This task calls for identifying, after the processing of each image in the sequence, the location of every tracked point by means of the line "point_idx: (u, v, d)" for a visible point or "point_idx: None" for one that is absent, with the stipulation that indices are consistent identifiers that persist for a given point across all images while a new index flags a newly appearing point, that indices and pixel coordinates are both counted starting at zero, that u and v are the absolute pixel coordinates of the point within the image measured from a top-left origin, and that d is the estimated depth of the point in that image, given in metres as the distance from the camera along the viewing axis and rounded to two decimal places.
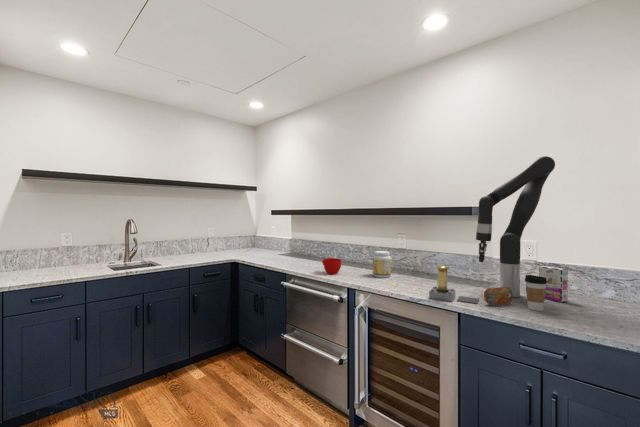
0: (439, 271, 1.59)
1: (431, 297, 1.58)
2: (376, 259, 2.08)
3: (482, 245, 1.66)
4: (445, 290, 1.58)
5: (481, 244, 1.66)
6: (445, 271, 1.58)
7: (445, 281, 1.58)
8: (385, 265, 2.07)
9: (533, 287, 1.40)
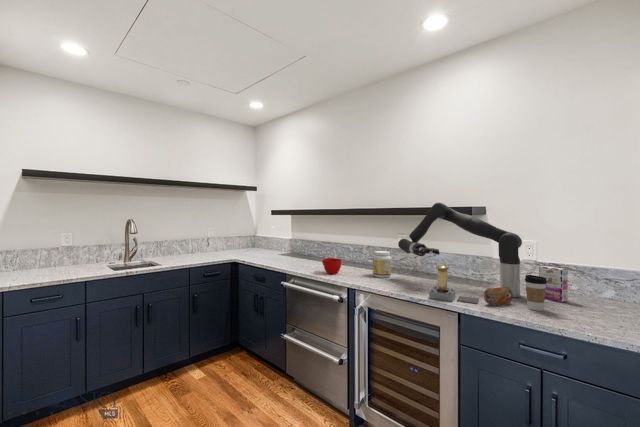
0: (439, 271, 1.59)
1: (431, 297, 1.58)
2: (376, 259, 2.08)
3: (412, 250, 1.79)
4: (445, 290, 1.58)
5: (412, 251, 1.80)
6: (445, 271, 1.58)
7: (445, 281, 1.58)
8: (385, 265, 2.07)
9: (533, 287, 1.40)
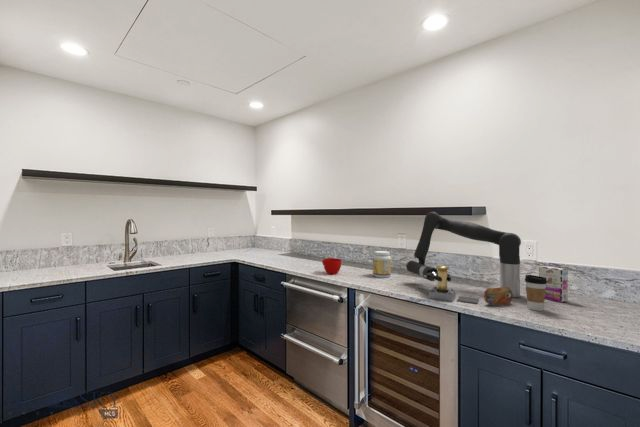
0: (439, 271, 1.59)
1: (431, 297, 1.58)
2: (376, 259, 2.08)
3: (424, 275, 1.65)
4: (445, 290, 1.58)
5: (424, 276, 1.66)
6: (445, 271, 1.58)
7: (445, 281, 1.58)
8: (385, 265, 2.07)
9: (533, 287, 1.40)
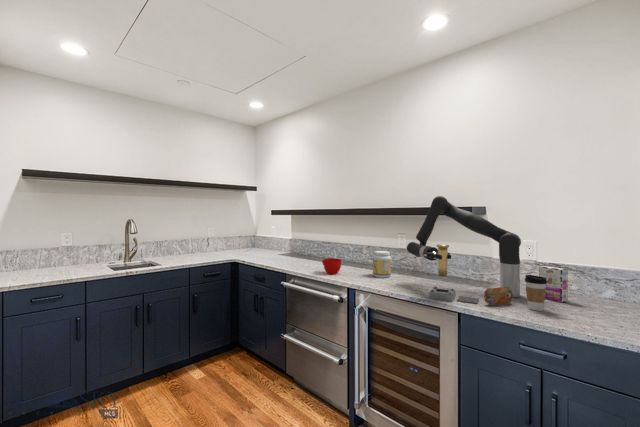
0: (439, 249, 1.59)
1: (431, 297, 1.58)
2: (376, 259, 2.08)
3: (425, 254, 1.65)
4: (445, 268, 1.58)
5: (424, 255, 1.66)
6: (445, 249, 1.58)
7: (445, 259, 1.58)
8: (385, 265, 2.07)
9: (533, 287, 1.40)
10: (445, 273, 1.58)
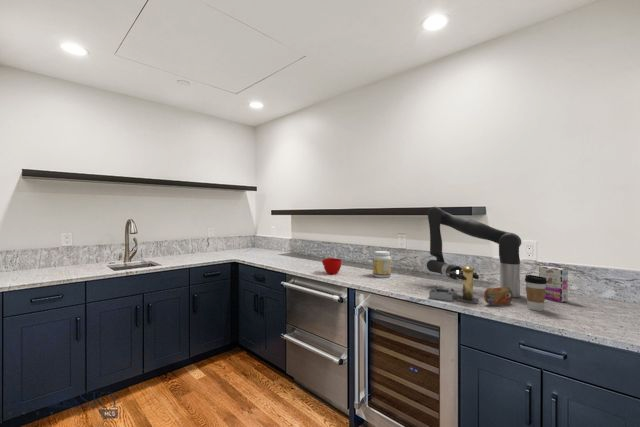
0: (464, 272, 1.54)
1: (431, 297, 1.58)
2: (376, 259, 2.08)
3: (447, 273, 1.61)
4: (471, 292, 1.53)
5: (447, 274, 1.61)
6: (471, 272, 1.53)
7: (471, 282, 1.53)
8: (385, 265, 2.07)
9: (533, 287, 1.40)
10: (471, 297, 1.53)
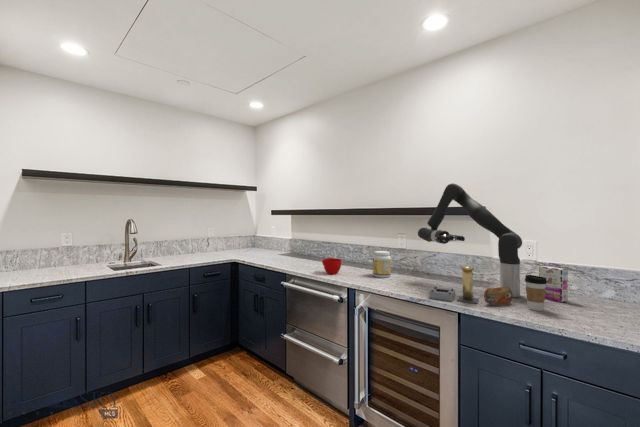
0: (464, 272, 1.54)
1: (431, 297, 1.58)
2: (376, 259, 2.08)
3: (435, 237, 1.73)
4: (471, 291, 1.53)
5: (435, 238, 1.73)
6: (470, 272, 1.53)
7: (471, 282, 1.53)
8: (385, 265, 2.07)
9: (533, 287, 1.40)
10: (470, 297, 1.53)
